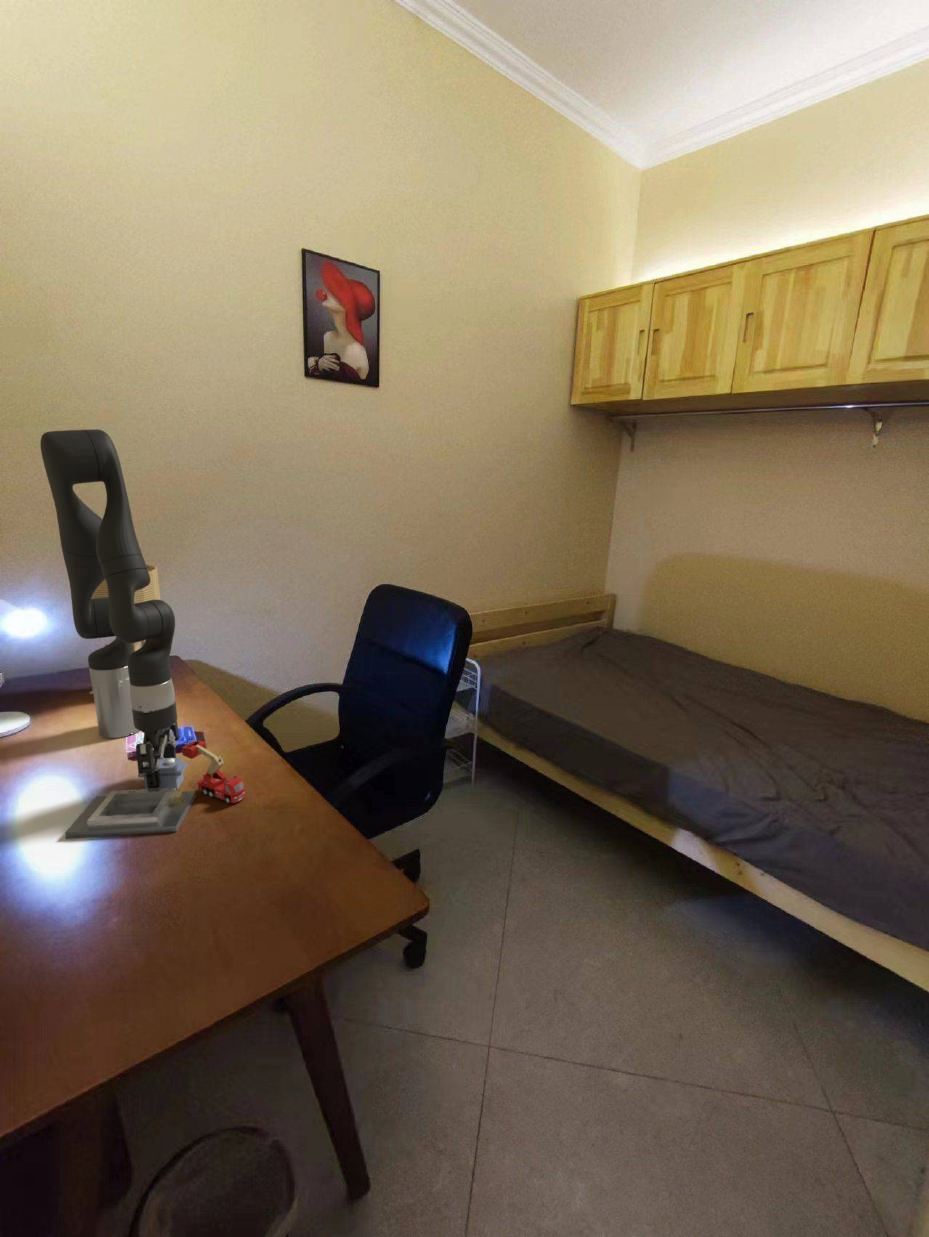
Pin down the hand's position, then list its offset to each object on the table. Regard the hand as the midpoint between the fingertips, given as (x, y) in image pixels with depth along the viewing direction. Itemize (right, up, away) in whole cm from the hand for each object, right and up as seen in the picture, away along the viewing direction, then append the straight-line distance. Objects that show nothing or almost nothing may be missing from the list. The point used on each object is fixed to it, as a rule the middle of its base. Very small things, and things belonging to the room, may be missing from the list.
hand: (162, 775), depth 110 cm
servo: (0, -2, +1) cm, 2 cm away
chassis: (0, -5, -9) cm, 10 cm away
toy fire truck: (+11, -3, -1) cm, 12 cm away
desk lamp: (-35, +11, +46) cm, 59 cm away
